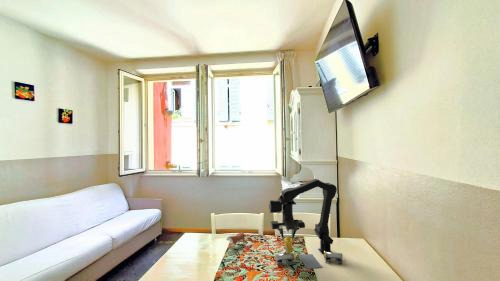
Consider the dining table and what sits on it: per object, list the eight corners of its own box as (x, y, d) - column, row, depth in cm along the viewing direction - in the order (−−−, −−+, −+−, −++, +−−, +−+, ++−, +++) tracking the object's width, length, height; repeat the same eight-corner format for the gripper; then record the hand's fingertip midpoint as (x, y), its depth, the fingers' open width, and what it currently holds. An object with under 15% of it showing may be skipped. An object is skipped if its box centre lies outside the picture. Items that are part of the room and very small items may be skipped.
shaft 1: (277, 265, 121) (277, 255, 121) (275, 261, 125) (275, 251, 125) (296, 264, 122) (296, 254, 122) (293, 260, 126) (293, 250, 126)
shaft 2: (324, 262, 124) (324, 253, 124) (323, 258, 128) (323, 249, 128) (342, 264, 121) (342, 254, 121) (341, 260, 126) (341, 251, 126)
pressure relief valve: (295, 252, 134) (294, 235, 133) (283, 262, 125) (282, 244, 124) (287, 249, 138) (286, 233, 137) (275, 259, 129) (274, 241, 128)
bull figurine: (225, 248, 141) (225, 234, 141) (242, 242, 150) (242, 229, 150) (229, 251, 138) (229, 236, 138) (246, 244, 147) (246, 231, 147)
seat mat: (298, 255, 131) (298, 254, 131) (312, 254, 132) (312, 254, 132) (306, 268, 117) (306, 268, 117) (322, 267, 118) (322, 267, 118)
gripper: (274, 217, 125) (274, 246, 125) (308, 215, 127) (308, 244, 127) (270, 211, 136) (270, 238, 136) (301, 209, 138) (302, 236, 138)
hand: (287, 239), depth 134 cm, fingers open, 5 cm apart
